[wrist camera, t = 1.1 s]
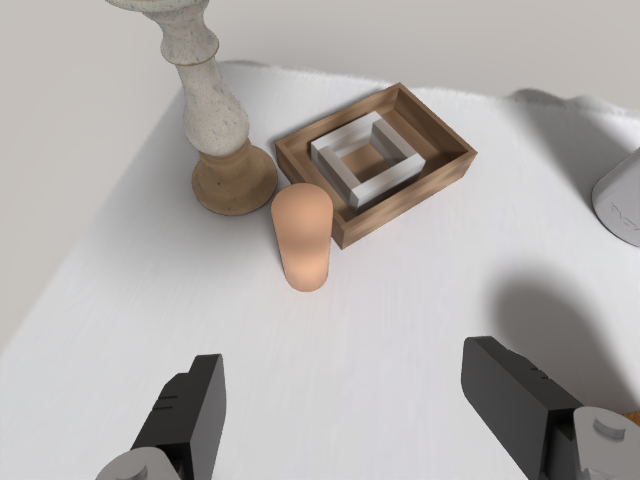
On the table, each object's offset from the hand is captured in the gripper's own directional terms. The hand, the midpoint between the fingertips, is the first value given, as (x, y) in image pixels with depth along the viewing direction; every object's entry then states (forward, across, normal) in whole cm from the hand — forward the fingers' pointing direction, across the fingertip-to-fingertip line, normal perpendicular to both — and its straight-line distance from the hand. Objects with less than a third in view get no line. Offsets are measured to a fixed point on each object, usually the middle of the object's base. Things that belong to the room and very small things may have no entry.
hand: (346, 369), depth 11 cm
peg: (+21, 0, +3) cm, 21 cm away
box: (+28, -8, -5) cm, 29 cm away
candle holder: (+28, +7, -5) cm, 29 cm away
